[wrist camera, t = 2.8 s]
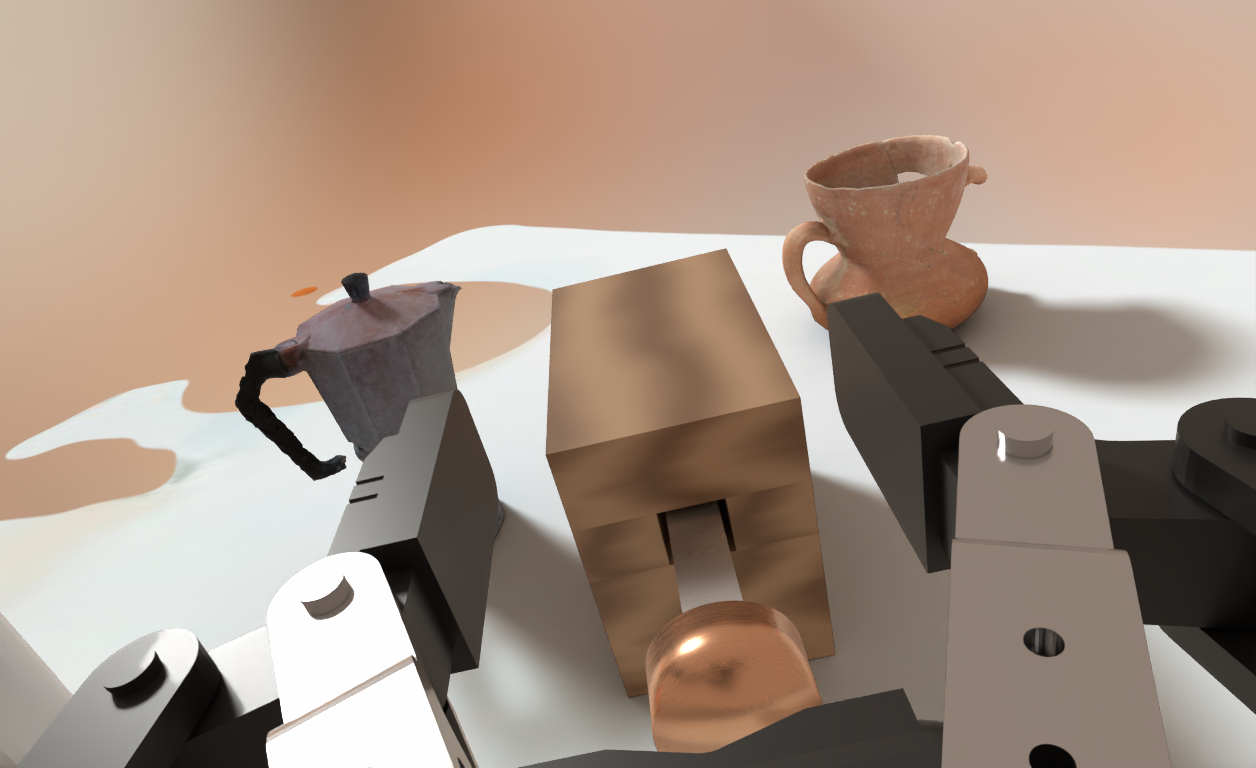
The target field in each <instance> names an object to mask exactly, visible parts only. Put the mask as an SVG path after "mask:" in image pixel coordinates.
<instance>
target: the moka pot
mask: <svg viewBox="0 0 1256 768" xmlns="http://www.w3.org/2000/svg"><path fill="white" fill-rule="evenodd" d="M341 283H342V284H343V286H344V288H345V289H346V291H347V293H348V294H349V296H350V298H346V299H343V300H340V301H338V302H336V303H334V304H333V305H331V306H329V307H328V308H326V309H324V310H323V311H321V312H319V313H318V314H316V315H315V316H313V317H311V318H310V319H309V320H307V321H305V322H303V323H302V324H300V325H299V326H298V328H297V334H296V337H294V338H291V339H289V340H286V341H284V342H282V343H280V344H278V345H277V346H276V347H275V348H274V349H269V350H263V351H257V352H254V353H251V354H250V358H249V361H248V363H247V364H246V365H245V370H246V374H245V377H242V378H241V381H240V384H239V385H240V390H239V392H238V394H237V397H236V400H235V405H236V407H237V408H238V409H239V411H240V412H241V414H242V415H243V416H244V417H245V418H246V420H247V421H249V422H251V423H252V424H253V425H254V426H255V427H256V428H258V429H259V430H260V431H261V432H262V433H263V434H264V435H265V436H266V437H267V438H268V439H270V440H271V441H273V442H274V443H275V444H276V445H277V446H278V447H279V448H280V450H281V451H282V452H283V453H285V454H287V455H288V456H289V457H290V458H291V460H292V461H293V462H294V463H295V464H296V465H298V466H300V468H301V470H303V471H304V472H305V473H306V474H307V475H308V476H310V477H311V478H312V479H313V480H314V481H315V480H319V479H323V478H326V477H328V476H330V475H334V474H336V473H338V472H340V471H341V470H343V469H345V468H346V465H345V462H346V456H342V455H337V456H335V457H334V458H332V459H330V460H328V461H319V460H318V459H317V458H316V457H315V456H314V455H313V454H312V453H311V452H309V451H308V450H307V449H305V448H303V445H302V444H301V442H300V441H299V440H298V439H297V437H296V436H294V433H293V432H292V431H291V430H289V429H288V428H287V427H286V425H285V424H284V423H283V422H282V421H280V420H279V419H277V417H276V416H275V414H274V413H273V412H272V411H271V409H270V408H269V407H268V406H267V405H266V404H264V403H263V402H261V401H260V399H259V395H260V389H261V385H262V384H263V383H264V382H265V381H266V379H269V378H286V377H290V376H294V375H296V374H298V373H300V372H302V371H307V373H308V374H309V376H310V378H311V379H312V381H313V383H314V384H315V386H316V388H317V389H318V391H319V393H320V394H321V396H322V398H323V399H324V401H325V403H326V404H327V406H328V408H329V409H330V411H331V413H332V415H333V416H334V418H335V420H336V422H337V423H338V425H339V426H340V428H341V430H342V432H343V434H344V435H345V437H346V439H347V440H348V442H352V443H353V444H354V450H355V454H356V455H357V457H358V458H359V459H360V460H361V461H362V462H364V460H365V458H366V457H367V456H368V455H369V454H370V453H371V452H372V451H373V450H374V449H375V448H376V446H377V445H378V444H379V443H380V442H381V441H382V440H383V439H384V438H385V437H389V436H393V435H398V433H399V430H400V428H401V425H402V422H403V419H404V416H405V413H406V410H407V407H408V404H409V402H410V401H411V400H413V399H417V398H422V397H426V396H430V395H435V394H439V393H443V392H447V391H452V390H458V389H457V384H456V379H455V374H454V369H453V364H452V358H451V354H450V341H451V332H452V322H453V313H454V306H455V298H456V295H457V293H458V291H459V290H460V289H461V287H459V286H455V285H453V284H451V283H447V282H445V283H442V282H441V281H435V282H428V283H423V284H418V285H416V286H394V285H392V286H389V287H385V288H382V289H378V290H374V291H371V292H369V283H368V276H367V274H365V273H354V274H351V275H348V276H346V277H345V278H344V279H342V281H341ZM503 518H504V510H503V508H502V506H501V503H500V501H499V499H498V511H497V519H496V527H495V536H496V534H497V532H498V530H499V528H500V526H501V524H502V522H503Z"/></svg>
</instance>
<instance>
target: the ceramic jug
mask: <svg viewBox="0 0 1256 768" xmlns="http://www.w3.org/2000/svg"><path fill="white" fill-rule="evenodd" d="M903 172H918V173H921V174H925V175H928V176H927V177H923V178H920V179H917V180H915V181H907V182H903V183H899V181H898V176H897V174H899V173H903ZM986 179H987V174H986V172H985V170H984V169H983V168H981V167H978V166H969V150H968V148H967V146H966V145H965V144H964V143H962V142H960V141H959V142H957V143H955V144H954V143H953V142H952V140H951V139H950V138H948V137H944V136H935V135H933V136H932V135H931V136H928V135H918V136H905V137H897V138H891V139H888V140H885V141H875V142H870V143H866V144H862V145H858V146H855V147H852V148H850V149H847V150H844V151H842V152H840V153H838V154H836V155H832V156H830V157H828V158H827V159H825V160H822V161H820V162H818V163H816V164H815V165H813V166H812V167H810V168H809V169H808V170H807V171H806V172H805V174H804V181H805V185H806V188H807V192H808V194H809V197H810V200H811V202H812V205H813V207H814V210H815V212H816V214H817V216H818V218H819V222H817V221H814V222H806V223H802V224H800V225H798V226H797V227H795V228H793V229H792V230H791V231H790V232H789V233H788V235H787V236H786V238H785V241H784V244H783V255H782V259H783V267H784V271H785V274H786V277H787V280H788V282H789V284H790V285H791V287H792V289H793V290H794V291H795V292H796V294H797V295H798V296H799V297H800V298H801V299H802V300H803V301H804V302H805V303H806V304H807V305H808V306H809V308H810V310H811V313H812V316H813V318H814V320H815V321H816V322H817V323H818V324H820V325H821V326H822V327H824V328H825V329H827V330H828V320H827V308H828V304H829V303H832V302H837V301H841V300H845V299H849V298H854V297H858V296H862V295H867V294H871V293H875V292H878V293H880V294H881V295H882V296H883V298H884V299H885V300H886V301H887V302H888V303H889V305H890V306H891V307H892V308H893V309H894V310H895V311H896V313H897V314H898V315H899V316H900V317H901V318H902V319H903V318H908V317H912V316H916V315H922V316H924V317H927V318H929V319H931V320H934V321H936V322H939V323H941V324H944V325H946V326H948V327H949V328H950V329H953V328H954V327H956V326H958V325H959V324H961V323H962V322H964V321H965V320H966V319H968V318H969V317H970V316H971V315H972V314H973V313H974V312H975V311H976V310H977V309H978V308H979V307H980V305H981V304H982V302H983V300H984V298H985V295H986V292H987V288H988V275H987V271H986V268H985V266H984V264H983V262H982V261H981V259H980V258H979V257H978V256H977V253H976V252H975V251H974V250H973V249H969V248H967V247H965V246H963V245H961V244H959V243H957V242H954V241H952V240H949V239H947V238H945V237H946V235H947V232H948V230H949V228H950V226H951V224H952V222H953V219H954V217H955V215H956V212H957V210H958V207H959V204H960V201H961V198H962V195H963V191H964V187H965V186H967V185H968V184H970V183H974V184H982V183H984V182H985V181H986ZM815 240H820V241H825V242H828V243H830V244H833V245H835V246H836V247H837V249H838V250H839V253H838V254H837V255H835V256H834V257H833V258H832V259H830V260H829V261H828V262H827V263H826V264H825V265H823V266H822V267H821V268H820V269H819V271H818V272H817V273H816V275H815V276H814V277H813V279H812V281H811V283H810V286H809V284H808V282H807V280H806V278H805V275H804V271H803V266H802V255H803V250H804V247H805V246H806V244H807V243H809V242H811V241H815ZM828 331H829V330H828Z"/></svg>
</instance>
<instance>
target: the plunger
mask: <svg viewBox="0 0 1256 768" xmlns="http://www.w3.org/2000/svg"><path fill="white" fill-rule="evenodd" d="M665 513H666V519H667V525H668V531H669V536H670V542H671V548H672V554H673V560H674V566H675V572H676V578H677V584H678V590H679V596H680V602H681V608H682V614H680V615H679V616H677V617H675V618H674V619H672V620H671V621H670V622H668V623H667V624H666V625H665V626H664V627H663V628H662V629H661V630H660V631H659V632H658V633H657V634H656V636H655V637H654V638H653V640H652V642H651V644H650V646H649V648H648V651H647V655H646V675H647V685H648V694H649V704H650V713H651V723H652V732H653V739H654V744H655V746H656V749H657V751H658V752H680V753H707V752H712V751H715V750H717V749H720V748H722V747H724V746H726V745H728V744H730V743H733V742H735V741H737V740H739V739H741V738H743V737H745V736H747V735H750V734H752V733H754V732H756V731H758V730H760V729H762V728H764V727H767V726H769V725H771V724H773V723H775V722H777V721H779V720H782V719H784V718H786V717H788V716H790V715H792V714H794V713H796V712H799V711H801V710H803V709H805V708H810V707H815V706H820V705H823V703H822V700H821V697H820V694H819V691H818V688H817V685H816V682H815V679H814V676H813V673H812V670H811V667H810V664H809V661H808V658H807V655H806V652H805V649H804V645H803V642H802V639H801V636H800V634H799V632H798V630H797V628H796V627H795V625H794V624H793V623H792V622H791V621H790V620H789V619H788V618H787V617H786V616H785V615H783V614H782V613H781V612H779V611H777V610H775V609H773V608H771V607H768V606H766V605H763V604H759V603H755V602H748V601H743V599H742V595H741V592H740V588H739V584H738V580H737V576H736V572H735V569H734V565H733V561H732V557H731V553H730V549H729V546H728V542H727V538H726V534H725V530H724V527H723V523H722V519H721V515H720V511H719V507H718V504H717V500H716V501H711V502H707V503H702V504H698V505H693V506H689V507H684V508H680V509H675V510H670V511H666V512H665Z"/></svg>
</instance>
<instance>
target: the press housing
mask: <svg viewBox="0 0 1256 768" xmlns="http://www.w3.org/2000/svg"><path fill="white" fill-rule="evenodd" d="M546 457H547V460H548V463H549V466H550V469H551V472H552V475H553V478H554V481H555V483H556V486H557V489H558V492H559V495H560V498H561V501H562V504H563V507H564V510H565V513H566V516H567V519H568V522H569V525H570V527H571V530H572V533H573V536H574V539H575V542H576V545H577V548H578V551H579V554H580V557H581V560H582V563H583V566H584V569H585V572H586V574H587V577H588V580H589V583H590V586H591V589H592V592H593V595H594V598H595V601H596V604H597V607H598V610H599V613H600V616H601V618H602V621H603V624H604V627H605V630H606V633H607V636H608V639H609V642H610V645H611V648H612V651H613V654H614V657H615V660H616V662H617V665H618V668H619V671H620V674H621V677H622V680H623V683H624V686H625V689H626V692H627V695H628V698H629V697H634V696H638V695H643V694H648V685H647V675H646V655H647V651H648V648H649V646H650V644H651V642H652V640H653V638H654V637H655V636H656V634H657V633H658V632H659V631H660V630H661V629H662V628H663V627H664V626H665V625H666V624H667V623H668V622H670V621H671V620H672V619H674V618H675V617H677V616H679V615H680V614H682V608H681V602H680V596H679V590H678V584H677V578H676V572H675V566H674V560H673V554H672V548H671V542H670V536H669V531H668V525H667V519H666V513H665V512H666V511H670V510H675V509H680V508H684V507H689V506H693V505H698V504H702V503H707V502H711V501H716V500H717V504H718V507H719V511H720V515H721V519H722V523H723V527H724V530H725V534H726V538H727V542H728V546H729V549H730V553H731V557H732V561H733V565H734V569H735V572H736V576H737V580H738V584H739V588H740V592H741V595H742V599H743V601H748V602H755V603H759V604H763V605H766V606H768V607H771V608H773V609H775V610H777V611H779V612H781V613H782V614H783V615H785V616H786V617H787V618H788V619H789V620H790V621H791V622H792V623H793V624H794V625H795V627H796V628H797V630H798V632H799V634H800V636H801V639H802V642H803V645H804V649H805V652H806V655H807V658H808V660H811V659H816V658H821V657H826V656H831V655H835V649H834V641H833V634H832V627H831V619H830V612H829V605H828V597H827V590H826V583H825V575H824V568H823V561H822V553H821V546H820V539H819V531H818V524H817V517H816V509H815V502H814V494H813V487H812V480H811V472H810V465H809V458H808V450H807V443H806V436H805V428H804V421H803V414H802V406H801V399H800V396H799V394H798V392H797V390H796V388H795V386H794V384H793V382H792V380H791V378H790V376H789V374H788V372H787V370H786V368H785V366H784V364H783V362H782V360H781V358H780V356H779V354H778V352H777V350H776V348H775V346H774V344H773V342H772V340H771V338H770V336H769V334H768V332H767V330H766V328H765V326H764V324H763V321H762V319H761V317H760V315H759V313H758V311H757V309H756V307H755V305H754V303H753V301H752V299H751V297H750V295H749V293H748V291H747V289H746V287H745V285H744V283H743V281H742V279H741V277H740V275H739V273H738V271H737V269H736V267H735V265H734V263H733V261H732V259H731V257H730V255H729V253H728V251H727V249H721V250H717V251H713V252H709V253H705V254H700V255H696V256H692V257H688V258H684V259H679V260H675V261H671V262H667V263H663V264H658V265H654V266H650V267H646V268H641V269H637V270H633V271H629V272H625V273H620V274H616V275H612V276H608V277H604V278H599V279H595V280H591V281H587V282H583V283H578V284H574V285H570V286H566V287H561V288H557V289H553V294H552V319H551V341H550V365H549V389H548V413H547V436H546Z"/></svg>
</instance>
